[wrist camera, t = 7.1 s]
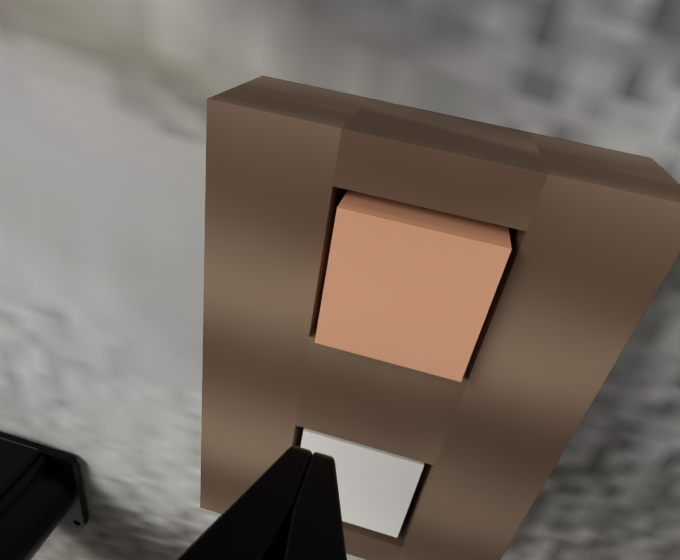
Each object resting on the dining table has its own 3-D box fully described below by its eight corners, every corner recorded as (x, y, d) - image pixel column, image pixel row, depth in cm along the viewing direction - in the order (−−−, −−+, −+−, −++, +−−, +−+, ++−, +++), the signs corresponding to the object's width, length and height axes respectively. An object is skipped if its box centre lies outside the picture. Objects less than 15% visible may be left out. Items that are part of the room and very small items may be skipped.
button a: (406, 466, 23) (397, 537, 20) (313, 439, 23) (290, 504, 20) (430, 396, 20) (424, 465, 18) (326, 368, 21) (303, 430, 18)
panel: (478, 508, 24) (479, 594, 20) (236, 437, 25) (200, 507, 22) (651, 158, 15) (704, 208, 11) (262, 75, 16) (207, 98, 13)
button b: (462, 315, 17) (461, 382, 15) (340, 284, 18) (314, 342, 15) (503, 198, 15) (512, 249, 12) (362, 166, 16) (336, 207, 13)
